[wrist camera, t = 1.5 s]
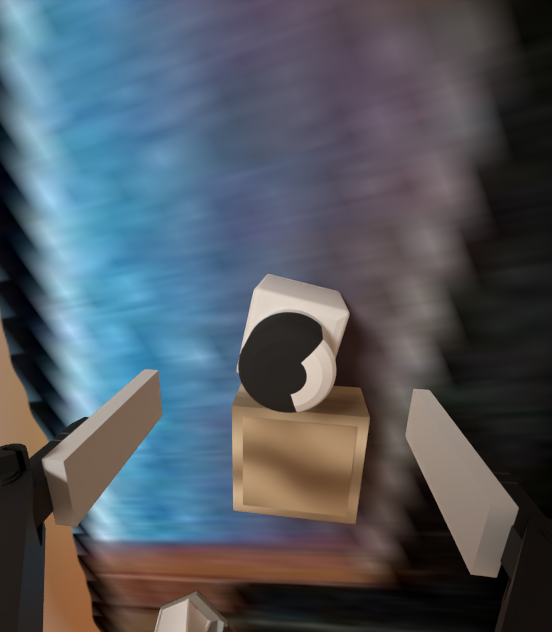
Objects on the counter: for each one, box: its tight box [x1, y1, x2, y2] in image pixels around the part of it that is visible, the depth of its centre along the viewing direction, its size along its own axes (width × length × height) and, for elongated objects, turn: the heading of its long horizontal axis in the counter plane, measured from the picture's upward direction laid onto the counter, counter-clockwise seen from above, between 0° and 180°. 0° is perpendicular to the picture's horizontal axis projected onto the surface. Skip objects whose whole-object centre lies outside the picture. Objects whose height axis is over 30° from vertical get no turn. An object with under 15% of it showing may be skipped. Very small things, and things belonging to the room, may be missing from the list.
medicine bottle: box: [237, 274, 350, 413], centre depth 24 cm, size 7×7×12 cm
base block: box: [232, 383, 370, 524], centre depth 31 cm, size 12×12×5 cm
